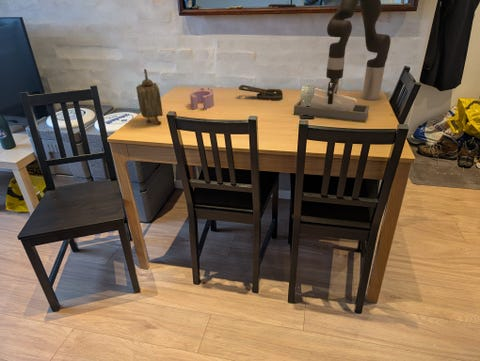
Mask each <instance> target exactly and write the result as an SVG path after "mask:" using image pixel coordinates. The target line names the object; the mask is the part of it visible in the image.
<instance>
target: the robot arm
mask: <svg viewBox="0 0 480 361" xmlns="http://www.w3.org/2000/svg"><path fill="white" fill-rule="evenodd" d="M358 4H359V8H360V11H361V12H360V13H361V16H362V23H363V27H364V28H363V29H364V39H365V47H366V50H367V51H368V52H369V53H375V54H376V56H375V57H374V58H370V59H368V60H367V61H366V66H365V72H364V73H365V74H364V80H363V87H362V92H361V93H362V94H361V98H362V99H363V100H367V101H376V100H379V99H380V97H381V90H382V83H383V79H384V78H383V77H384V72H385V66H386V63H387V60H388V56H389V51H390V47H391V37H390V35H389V34H384V33H377V30H376V24H377V22H378V19H379V18H380V15H381V14H382V9H383V8H382V1H381V0H341V2H340V4H339V6H338V8H337V10H336V11H335V13H334V14H333V16H332V17H331V19H330V20H329V21H328V23H327V27H326V34H327V35H328V36H329V37H331V38H339V40H338V42H337V41H336V42H332V43H331V44H330V45H329V49H328V50H329V51H328V59H327V65H326V74H325V77H326V78H327V79H330V80H329V82H328V83H327V84H328V85H327V91H328V92H327V96H328V104H332V103H333V96H334V93H337V92H338V90H339V83H340V79H342V78H343V77H344V69H345V55H346V54H345V53H346V47H347V44H348V41H349V39H350V36H351V34H352V30H353V24H352V22H351V21H350V20H348V19H351V18H353V16H354V14H355V11H356V9H357V6H358ZM330 92H332V94H331V93H330ZM337 94H338V93H337Z"/></svg>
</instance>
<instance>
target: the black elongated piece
mask: <svg viewBox="0 0 480 361" xmlns="http://www.w3.org/2000/svg"><path fill="white" fill-rule="evenodd" d="M238 90H239V91H244V92H251V93H257V94H256V99H257V101H269V100H271V101H272V102H280V101H283V98H284V96H283V90H282V89H279V88H267V89H265V88H260V87H255V86H249V85H245V84H241V85H240V86H238ZM271 101H270V102H271Z"/></svg>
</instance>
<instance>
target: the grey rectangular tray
mask: <svg viewBox="0 0 480 361" xmlns="http://www.w3.org/2000/svg"><path fill="white" fill-rule="evenodd" d="M301 102H302V98H301V99H299V100H298V101H297V102H296V103H295V104H294V106H293V115H294V116H301V115H300V114H308V115H312V116H314V117H313V118H320V119H329V120H339V121H347V122H355V123H364V124H365V123H366V120H367V117H368V115H369V110H370V105H365V104H355V107H354V109H353V111H348V110H347V111H346V110H336V109H326V108H317V107H307V106H300V105H301Z"/></svg>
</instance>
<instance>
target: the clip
mask: <svg viewBox="0 0 480 361" xmlns="http://www.w3.org/2000/svg"><path fill="white" fill-rule="evenodd" d="M189 96H190V97H189V98H190V99H189V100H190V106H191V109H192V110H193V111H196V110H198V109H199V106H198V104H199V105H200V104H202V105H203V110H204V109H205V111H208V110H207V108H208V109H212V108H213V107H214V106H215V102H214V99H215V98H214V91H213V88H212V87H208V88H207V89H206V90H205V88H204V87H198V88H197V90H196V91H192V92H190V93H189ZM211 107H212V108H211Z"/></svg>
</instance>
